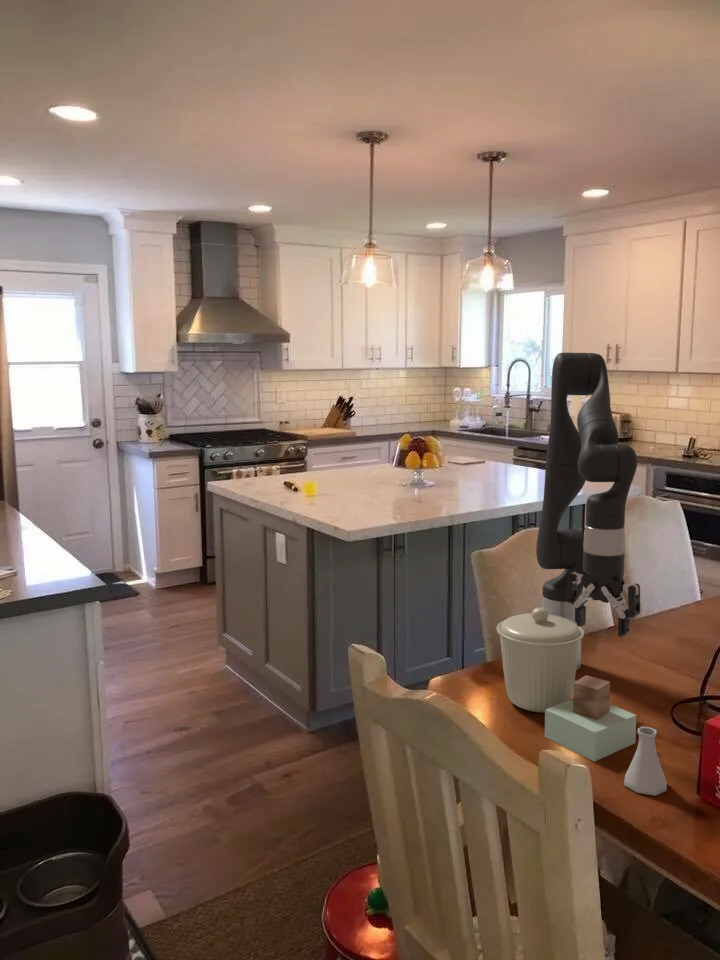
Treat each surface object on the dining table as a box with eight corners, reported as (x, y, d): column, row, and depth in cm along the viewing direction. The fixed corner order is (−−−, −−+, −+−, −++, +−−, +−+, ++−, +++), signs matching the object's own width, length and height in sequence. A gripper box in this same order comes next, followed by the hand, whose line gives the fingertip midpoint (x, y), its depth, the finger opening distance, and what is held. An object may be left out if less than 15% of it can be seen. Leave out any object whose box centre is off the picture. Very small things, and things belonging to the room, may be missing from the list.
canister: (598, 702, 167) (601, 607, 164) (550, 730, 155) (552, 628, 152) (527, 679, 181) (529, 590, 178) (478, 702, 168) (479, 608, 165)
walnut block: (572, 712, 150) (573, 682, 149) (585, 704, 154) (586, 675, 153) (597, 720, 147) (598, 689, 146) (609, 711, 150) (610, 681, 150)
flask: (632, 770, 140) (634, 717, 138) (673, 783, 135) (676, 728, 134) (616, 787, 134) (618, 732, 133) (659, 801, 130) (661, 744, 128)
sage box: (544, 738, 153) (545, 709, 152) (585, 721, 159) (585, 694, 158) (594, 763, 143) (595, 732, 142) (635, 744, 150) (636, 715, 149)
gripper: (649, 551, 146) (645, 634, 148) (579, 539, 156) (577, 617, 158) (630, 559, 141) (627, 645, 143) (560, 546, 150) (558, 627, 153)
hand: (601, 630), depth 151 cm, fingers open, 8 cm apart
